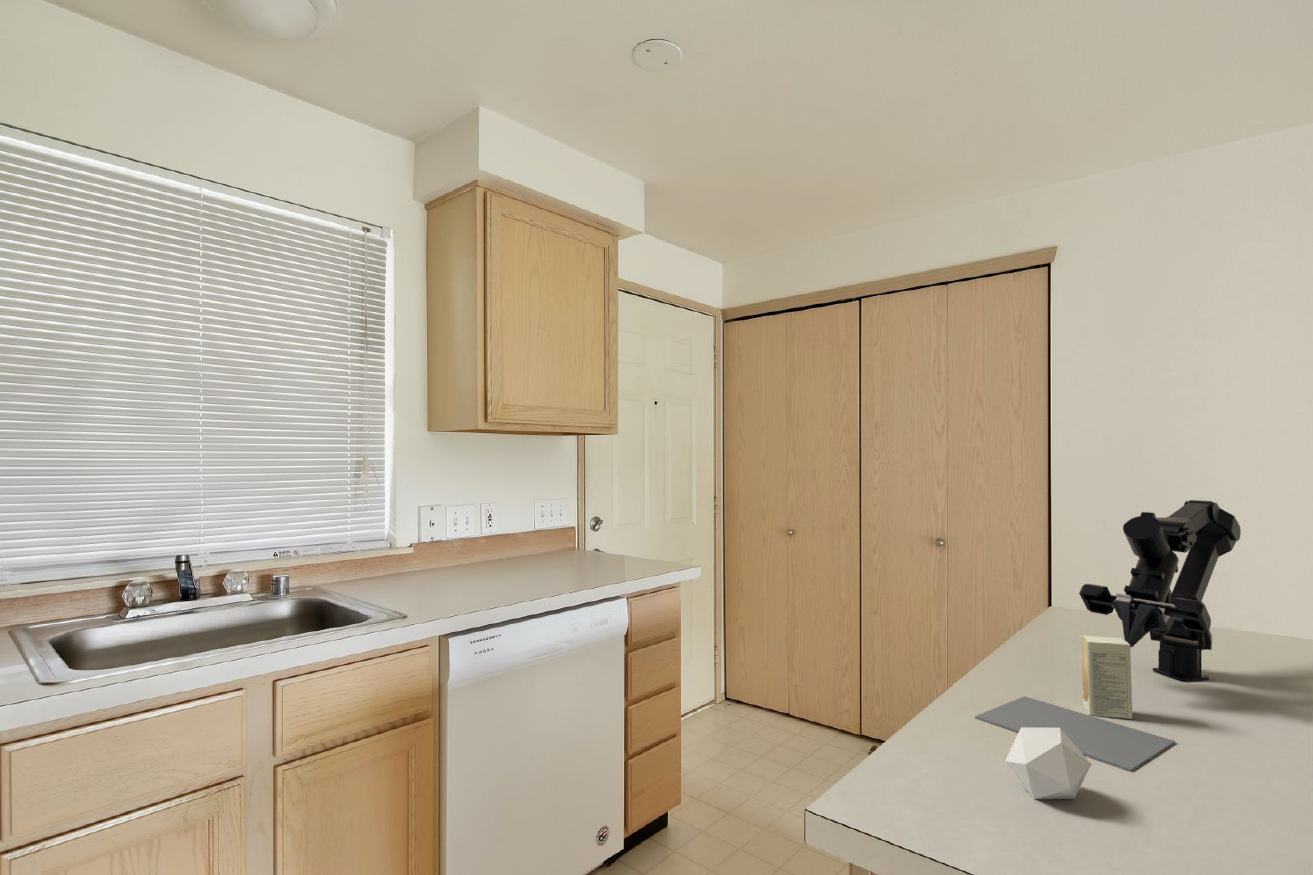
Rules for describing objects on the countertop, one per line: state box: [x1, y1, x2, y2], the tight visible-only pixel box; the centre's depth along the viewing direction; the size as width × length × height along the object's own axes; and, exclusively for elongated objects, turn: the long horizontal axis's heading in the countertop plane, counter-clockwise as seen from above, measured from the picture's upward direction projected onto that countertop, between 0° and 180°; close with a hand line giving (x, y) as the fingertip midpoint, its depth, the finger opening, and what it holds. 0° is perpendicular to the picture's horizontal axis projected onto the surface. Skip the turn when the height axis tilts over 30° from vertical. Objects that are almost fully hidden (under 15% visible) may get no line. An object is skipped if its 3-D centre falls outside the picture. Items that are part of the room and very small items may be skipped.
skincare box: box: [1081, 635, 1133, 720], centre depth 113 cm, size 6×4×12 cm
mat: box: [974, 696, 1176, 772], centre depth 106 cm, size 16×22×1 cm
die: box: [1004, 727, 1092, 800], centre depth 86 cm, size 8×9×10 cm
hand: (1128, 645), depth 118 cm, fingers closed
